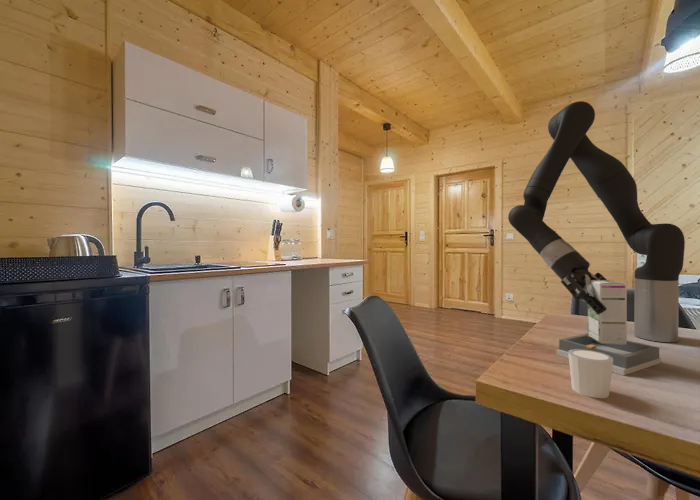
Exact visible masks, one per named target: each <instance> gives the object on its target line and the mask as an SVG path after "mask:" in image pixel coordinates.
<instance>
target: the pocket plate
mask: <svg viewBox="0 0 700 500" xmlns="http://www.w3.org/2000/svg"><path fill="white" fill-rule="evenodd" d="M558 342H559V343H558V345H559V346H558V347H559V348H558V349H556V355H557V356H560V357H563V358H567V359H569V355H568V351H569V350H573V349H583V350H591V351H596V352H600V353H604V354H607V355H609V356H611V357H612V358H613V366H612V373H615V374H618V375H621V376H626V375H630V374H632V373H635V372H638V371H641V370H644V369H647V368H650V367H652V366H657V365H659V364H662V357H660V347H658V346H653V345H649V344H645V343H640V342H636V341H631V340H627V344H626V345H619V344H603V343H599V342H597V341H596V340H594V339H592V338H590V337H588V332H587V333H584V334H579V335H573V336H569V337H565V338H560V339H558Z"/></svg>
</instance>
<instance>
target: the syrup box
mask: <svg viewBox="0 0 700 500" xmlns="http://www.w3.org/2000/svg"><path fill="white" fill-rule="evenodd" d="M590 282H591V285H592V287H593V288H592V293H593V296H595V297H596V298H597V299H598V300H599V301H600V302H601V303H602V304H603V305H604V306H605V307H606V310H605V311H604V312H603V313H601V314H597V313H596V312H595V311H594V310H593V309H592V308H591V307H590V306H589V304H588V303H587V333H588V337H590V338H592V339H594V340H596V341H597V342H599V343H603V344H619V345H626V344H627V341H628V337H627V335H628V334H627V331H628V329H627V328H628V326H627V324H628V318H627V317H628V315H627V314H628V311H627V310H628V309H627V308H628V305H627V303H628V299H627V297H628V296H627V294H628V293H627V292H628V291H627V290H628V288H627V287H628V284H627V283H626V282H621V281H615V280H609V279H607V280H590ZM593 296H592V297H593Z"/></svg>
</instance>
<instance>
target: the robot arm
mask: <svg viewBox="0 0 700 500" xmlns="http://www.w3.org/2000/svg"><path fill="white" fill-rule="evenodd" d="M595 117H596V112H595V109H594V107H593V106H592V104H590V102H589V103H588V102H587V101H582V100H580V101H578V100H577V101H575V102H572V103H570V104H567V106H565V107H564V108H562V109H561V110H560V111H558V112H557V113H556V114H554V115H553V116H552V117H551V118H550V119H549V121H548V125H547V130H548V133H549V135H550V137H551V139H552V140H553V142H552V143H551V145H550V147H549V149H548V150H547V152H546V154H545V155H544V156H543V158H542V159H541V160H540V162H539V163H538V165H536V167H535V168H534V171H533V172H532V174H531V176H530V178H529V180H528V182H527V184H526V186H525V189H524V191H523V195H522V196H523V200H524V202H523V204H521V205H520V204H519V205H515V206H514V207H512V208H511V209H510V210H509V212H508V215H507V216H508V217H507V220H508V222H509V224H510V225H511V227H513V228H514V229H515V230H516V231H517V232H518V233H519V235H521V236H522V237H523V238H524V239H525V240H527V242H528V244H530V245H531V246H532V247H531V248H533V249H534V251H536V252H537V253H538V255H539V256H540V257H541V258H542V259H543V261H544V262H545V264H546V265H547V266H548V267H549V268H550V269H551V270H552V271H553V272H554V273H555V274H556V275H557V277H558V278H559V279H560V282H561V284H562V285H563V286H564V287H565V289H566V290H567V291H569V293H570V295H572V296H573V298H575V299H576V300H577V301H579V300H581V301H582V302H585V303H586V304H587V305H588V304H589V306H590V307H591V308H592V309H593V310H594V311H595V312H596V313H597V314H601V313H603V312H604V311H605V310H606V307H605V306H604V305H603V304H602V303H601V302H600V301H599V300H598V299H597V298H596V297H595V296H593V293H592V288H593V287H592V285H591V282H590V280H608V279H607V278H605V276H603V275H602V274H601V272H596V273H595V274H593V273H592V272H590V271H589V268H590V262H589V261H588V260H587V259H586V258H585V257H584V256H583V255H581V254H580V252H578V250H577V249H575V248H574V247H573V245H571V244H570V243H569V242H568V241H566V240H565V239H563V237H562V236H561V235H559V233H557V232H556V231H555V230H554V229H552V228H551V227H550V226H549V225H548V224H546V222H545V221H544V217H545V214H546V210H547V207H548V206H547V205H548V201H549V199H550V198H551V196H552V194H553V191H554V189H555V187H556V185H557V183H558V181H559V179H560V176H561V175H562V172H563V170H564V169H565V167H566V165H567V163H568V162H569V160H570V159H571V161H572V162H573V163H574V165H575V167H576V168H577V169H578V170H579V172H580V173H581V174H582V176H583V177H584V178H585V181H586V183H588V185H589V186H590V188H591V190H592V191H593V192H594V194H595V195H596V196H597V198H599V200H600V201H601V202H602V204H603V205H604V207H605V208H606V209H607V211H608V213H609V214H610V216H611V217H612V218H613V220H614V221H615V223H616V224H617V227H618V228H619V231H620V232H621V234H622V236H623V238H624V240H625V241H626V243H627V245H628V246H629V248H630V249H631V250H632V251H633V252H635V253H636V254H639V255H642V256H646V257H645V262H644V264H643V265H641V266H640V267H637V268H636V269H634V303H633V305H634V312H633V313H634V314H633V315H634V317H633V318H634V320H633V322H634V327H633V328H634V333H633V334H634V337H637V338H640V339H644V340H648V341H652V342H653V341H654V342H658V343H659V342H660V343H661V342H662V343H677V342H679V312H680V311H679V308H680V307H679V306H680V305H679V304H680V303H679V300H680V299H679V295H680V293H679V291H680V290H679V285H680V284H679V282H680V281H679V280H680V274H681V273H682V271H683V267H684V260H685V258H684V257H685V247H686V246H685V245H686V243H685V241H686V240H685V235H684V233H683V231H682V229H681V228H680V227H679V226H677V225H675V224H673V223H652V222H650V221H649V220H648V219H647V217H646V216H645V214H644V213H643V211H642V210H641V208H640V206H639V201H638V186H637V183H636V180H635V178H634V177H633V175H632V174H631V173H630V172H629V170H628V169H627V167H626V166H625V164H624V163H622V161H620V160H619V159H618V158H616V157H615V156H614V155H611V154H609V153H608V152H606V151H605V150H603V149H601V148H600V147H598V146H596V144H594V143H593V141H591V139H590V137H588V135H587V133H588V131H589V129H590V128H591V127H592V125H593V124H594V122H595V119H596V118H595ZM592 296H593V297H592Z"/></svg>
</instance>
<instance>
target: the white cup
mask: <svg viewBox="0 0 700 500" xmlns="http://www.w3.org/2000/svg"><path fill="white" fill-rule="evenodd" d="M568 355H569V358H568V362H569V363H568V364H569V373H570V380H571V381H570V382H571V389H572V390H573V391H574V392H576V393H578V394H579V395H582V396H585V397H588V398H593V399H606V398H608V397H609V396H610V392H611V391H610V390H611V389H610V388H611V382H612V373H613V372H612V366H613V358H612V357H611V356H609V355H607V354H604V353H600V352H596V351H591V350H583V349H573V350H569V351H568Z"/></svg>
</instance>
